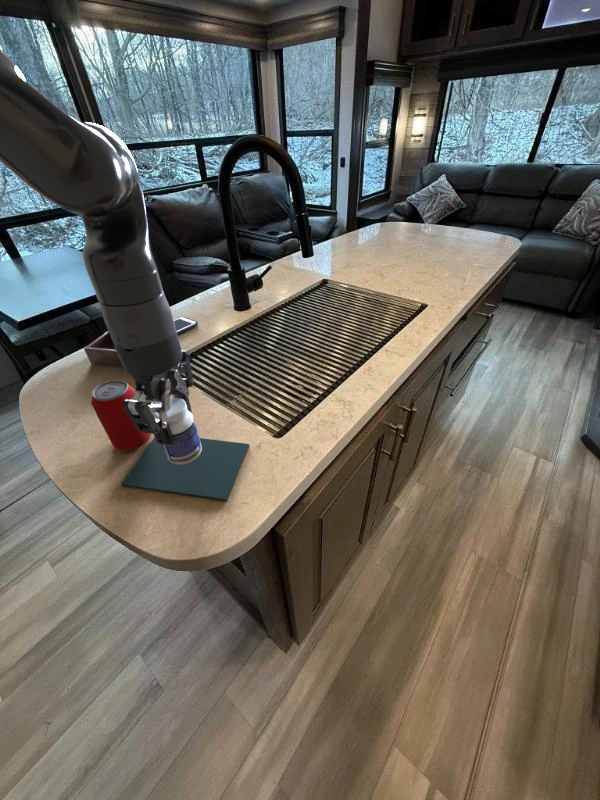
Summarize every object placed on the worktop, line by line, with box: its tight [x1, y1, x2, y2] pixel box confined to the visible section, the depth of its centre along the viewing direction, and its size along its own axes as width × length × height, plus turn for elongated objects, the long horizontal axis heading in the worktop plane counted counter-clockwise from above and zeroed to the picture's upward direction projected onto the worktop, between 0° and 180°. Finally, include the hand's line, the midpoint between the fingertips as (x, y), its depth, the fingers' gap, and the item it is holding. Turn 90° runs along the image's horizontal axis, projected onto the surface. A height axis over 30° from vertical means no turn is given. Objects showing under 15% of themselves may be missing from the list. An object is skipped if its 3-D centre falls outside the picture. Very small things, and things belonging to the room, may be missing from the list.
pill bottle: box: [154, 397, 202, 464], centre depth 52 cm, size 6×6×10 cm
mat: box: [120, 436, 250, 503], centre depth 57 cm, size 18×12×1 cm, turn 80°
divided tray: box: [83, 330, 123, 368], centre depth 84 cm, size 19×10×4 cm, turn 80°
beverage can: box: [90, 379, 152, 452], centre depth 58 cm, size 7×7×12 cm
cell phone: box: [173, 315, 199, 336], centre depth 97 cm, size 8×15×1 cm, turn 144°
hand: (176, 428), depth 52 cm, fingers closed on pill bottle, 5 cm apart
